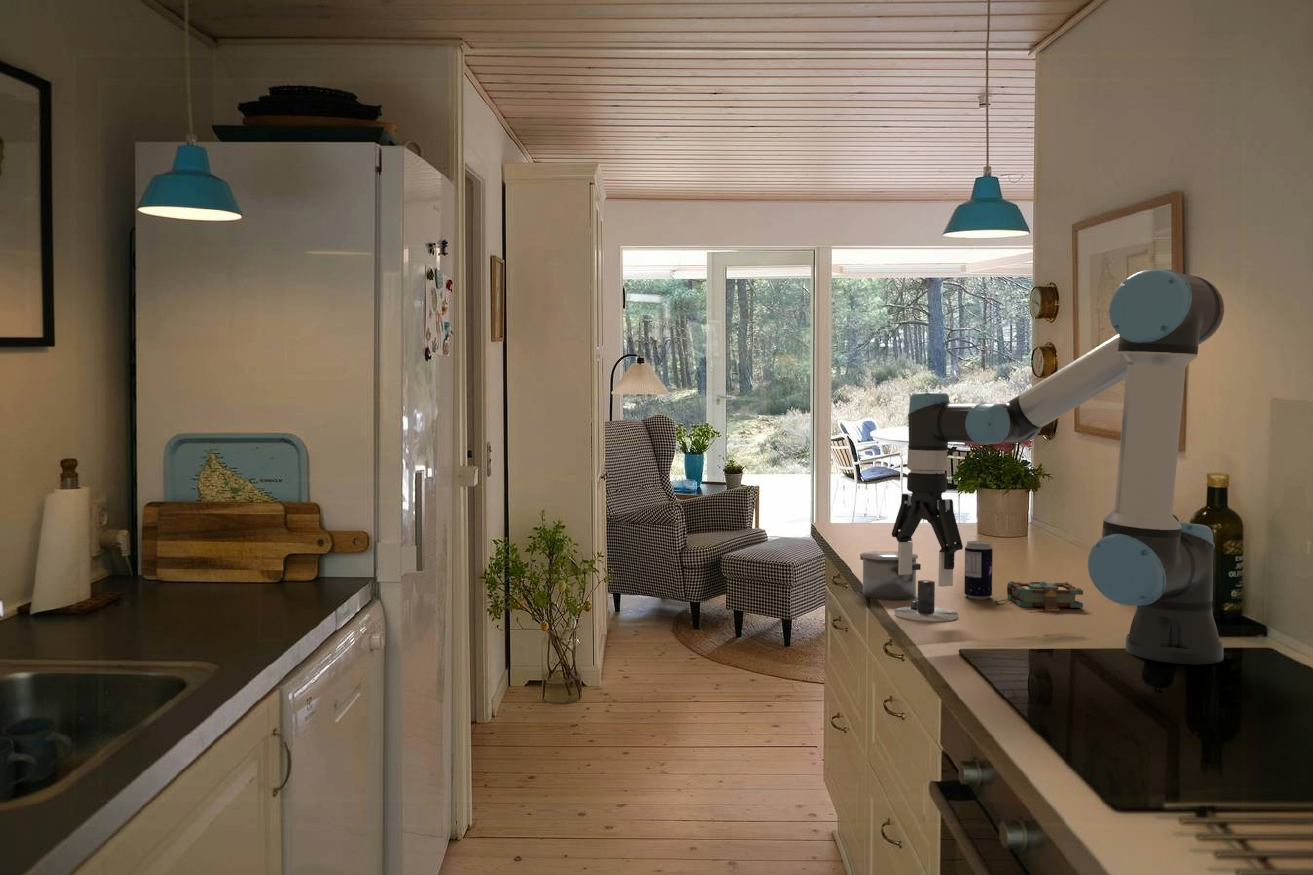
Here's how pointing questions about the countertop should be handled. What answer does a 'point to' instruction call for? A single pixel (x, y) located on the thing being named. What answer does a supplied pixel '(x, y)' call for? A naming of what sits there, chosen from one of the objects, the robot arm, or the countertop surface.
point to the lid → (925, 606)
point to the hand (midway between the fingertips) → (924, 580)
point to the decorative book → (1043, 595)
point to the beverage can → (978, 570)
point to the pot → (887, 576)
